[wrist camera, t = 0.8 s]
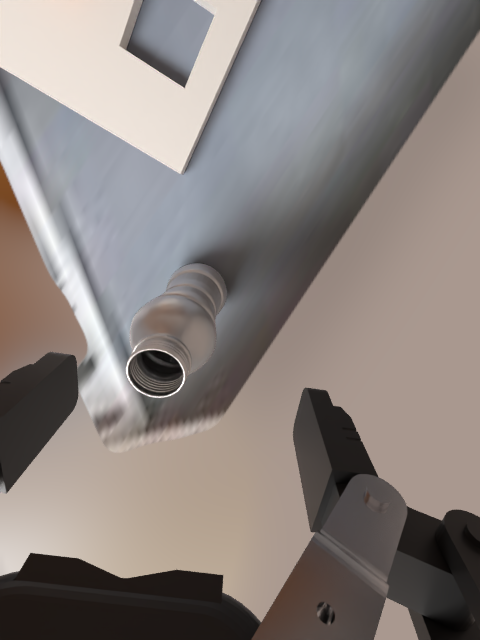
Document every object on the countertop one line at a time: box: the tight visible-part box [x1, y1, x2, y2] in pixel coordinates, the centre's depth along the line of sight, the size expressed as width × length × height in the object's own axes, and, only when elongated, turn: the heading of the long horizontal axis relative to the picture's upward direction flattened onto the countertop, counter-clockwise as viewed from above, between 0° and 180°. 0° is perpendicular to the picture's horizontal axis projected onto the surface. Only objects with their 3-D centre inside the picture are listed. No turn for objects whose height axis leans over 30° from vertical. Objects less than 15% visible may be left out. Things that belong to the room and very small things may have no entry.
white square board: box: [0, 0, 261, 175], centre depth 28 cm, size 20×20×2 cm
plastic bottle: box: [126, 263, 227, 398], centre depth 28 cm, size 6×7×20 cm
